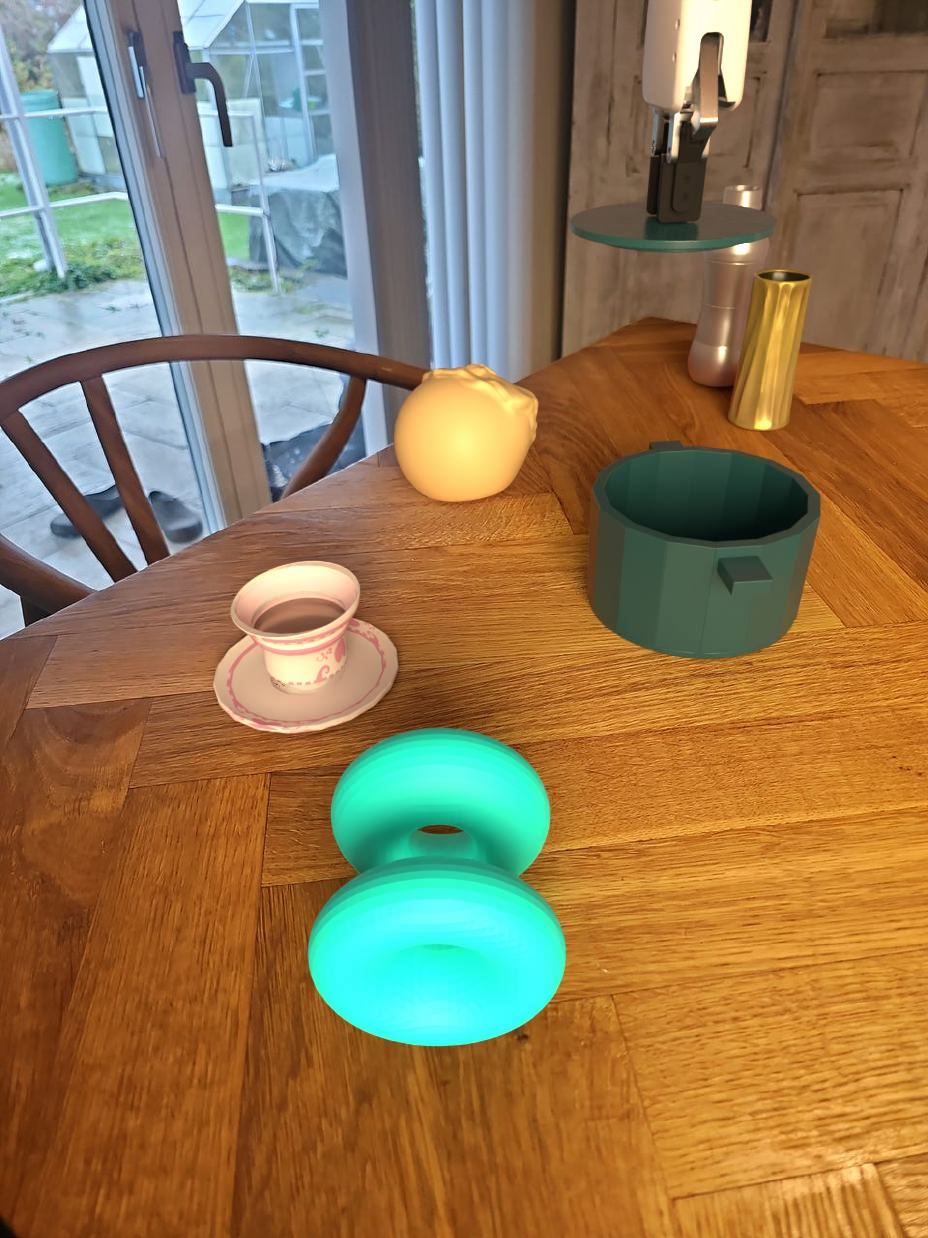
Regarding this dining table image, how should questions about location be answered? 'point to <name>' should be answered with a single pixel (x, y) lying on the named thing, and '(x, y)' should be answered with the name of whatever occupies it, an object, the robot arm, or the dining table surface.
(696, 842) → the dining table surface
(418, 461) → the sculpture
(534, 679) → the dining table surface
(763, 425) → the vase
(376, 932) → the turquoise spool
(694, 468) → the pot
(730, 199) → the plastic bottle
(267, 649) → the teacup
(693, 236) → the pot lid
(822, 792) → the dining table surface
